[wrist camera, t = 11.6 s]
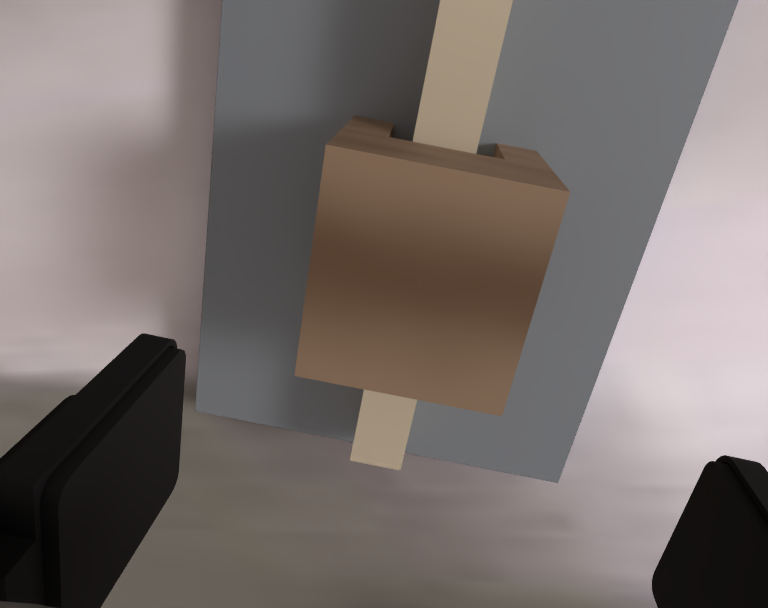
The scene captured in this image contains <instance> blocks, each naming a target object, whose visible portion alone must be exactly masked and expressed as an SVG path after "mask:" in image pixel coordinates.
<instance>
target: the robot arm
mask: <svg viewBox="0 0 768 608" xmlns="http://www.w3.org/2000/svg"><path fill="white" fill-rule="evenodd" d="M185 363H186V354H185V351H184V350H181V349H177V344H176V341H175V340H173V339H168V338H163V337H158V336H154V335H149V334H141V335H139V336H138V337H137V338H136V339H135V340H134V341H133V342H132V343H131V344H129V345H128V346H127V347H126V348H125V349H124V350H123V351H122V352H121V353H120V354H119V355H118V356H117V357H116V358H115V359H113V360H112V361H111V362H110V363H109V364H108V365H107V366H106V367H105V368H104V369H103V370H102V371H101V372H100V373H99V374H97V375H96V376H95V377H94V378H93V379H92V380H91V381H90V382H89V383H88V384H87V385H86V386H85V387H84V388H83V389H81V390H80V391H79V392H78V393H77V394H76V395H71V396H69V397H68V398H66V399H65V400H63V401H62V402H61V403H60V404H59V405H58V406H57V407H56V408H55V409H53V410H52V411H51V412H50V413H49V414H48V415H47V416H46V417H45V418H44V419H43V420H42V421H40V422H39V423H38V424H37V425H36V426H35V427H34V428H33V429H32V430H31V431H30V432H29V433H27V434H26V435H25V436H24V437H23V438H22V439H21V440H20V441H19V442H18V443H17V444H15V445H14V446H13V447H12V448H11V449H10V450H9V451H8V452H7V453H6V454H5V455H4V456H2V457H1V458H0V608H100V607H101V606H102V604H103V603H104V601H105V599H106V598H107V596H108V595H109V593H110V591H111V590H112V588H113V586H114V585H115V583H116V582H117V580H118V578H119V577H120V575H121V574H122V572H123V570H124V569H125V567H126V566H127V564H128V562H129V561H130V559H131V557H132V556H133V554H134V553H135V551H136V549H137V548H138V546H139V545H140V543H141V541H142V540H143V538H144V537H145V535H146V533H147V532H148V530H149V528H150V527H151V525H152V524H153V522H154V520H155V519H156V517H157V516H158V514H159V512H160V511H161V509H162V508H163V506H164V504H165V503H166V501H167V499H168V498H169V496H170V495H171V493H172V491H173V489H174V487H175V484H176V481H177V478H178V473H179V460H180V443H181V427H182V411H183V395H184V379H185ZM652 591H653V595H654V598H655V601H656V604H657V607H658V608H768V472H767V471H766V469H765V468H764V467H763V466H762V465H761V464H760V463H758V462H754V461H750V460H745V459H740V458H735V457H730V456H726V455H724V456H721V457H719V458H718V459H717V460H716V462H714V461H711V462H709V463H707V464H706V466H705V467H704V469H703V471H702V473H701V475H700V478H699V480H698V482H697V484H696V486H695V488H694V490H693V492H692V494H691V496H690V498H689V501H688V503H687V505H686V507H685V509H684V511H683V513H682V515H681V517H680V519H679V521H678V524H677V526H676V528H675V530H674V532H673V534H672V536H671V538H670V540H669V542H668V544H667V547H666V549H665V551H664V553H663V555H662V557H661V559H660V561H659V563H658V565H657V567H656V570H655V572H654V575H653V579H652Z"/></svg>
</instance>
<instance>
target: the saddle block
mask: <svg viewBox="0 0 768 608" xmlns="http://www.w3.org/2000/svg"><path fill="white" fill-rule="evenodd" d="M393 128H394V123H390V122H385V121H380V120H375V119H370V118H365V117H359V116H353V117H352V118H351V119H350V121H349V122H348V123H347V124H346V125H345V126H344V127H343V128H342V129H341V130H340V131H339V132H338V133H337V134H336V135H335V136H334V137H333V138H332V139H331V140H330V141H329V142H328V143H327V144H326V147H325V154H324V161H323V169H322V176H321V183H320V191H319V198H318V206H317V213H316V220H315V228H314V235H313V243H312V250H311V257H310V265H309V272H308V279H307V287H306V294H305V302H304V309H303V316H302V324H301V331H300V339H299V346H298V353H297V361H296V368H295V375H294V376H297V377H303V378H308V379H313V380H318V381H323V382H328V383H333V384H339V385H344V386H349V387H354V388H359V389H364V390H369V391H374V392H380V393H385V394H390V395H395V396H400V397H405V398H410V399H416V400H421V401H426V402H431V403H436V404H441V405H446V406H452V407H457V408H462V409H467V410H472V411H477V412H482V413H487V414H493V415H498V416H502V415H503V411H504V408H505V405H506V402H507V398H508V395H509V392H510V388H511V385H512V382H513V379H514V375H515V372H516V369H517V366H518V362H519V359H520V356H521V352H522V349H523V346H524V343H525V339H526V336H527V333H528V329H529V326H530V323H531V320H532V316H533V313H534V310H535V306H536V303H537V300H538V297H539V293H540V290H541V287H542V283H543V280H544V277H545V274H546V270H547V267H548V264H549V260H550V257H551V254H552V251H553V247H554V244H555V241H556V238H557V234H558V231H559V228H560V224H561V221H562V218H563V215H564V211H565V208H566V205H567V201H568V198H569V195H570V191H569V190H568V189H567V187H566V186H565V185H564V184H563V182H562V181H561V180H560V179H559V178H558V176H557V175H556V174H555V173H554V171H553V170H552V169H551V168H550V167H549V165H548V164H547V163H546V162H545V160H544V159H543V158H542V157H541V156H540V154H539V153H538V152H537V151H535V150H530V149H524V148H519V147H514V146H509V145H504V144H499V143H497V144H496V148H495V153H494V157H489V156H484V155H479V154H474V153H469V152H464V151H459V150H453V149H448V148H443V147H438V146H433V145H428V144H422V143H417V142H412V141H407V140H402V139H397V138H392V133H393Z"/></svg>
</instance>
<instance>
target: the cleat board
mask: <svg viewBox="0 0 768 608" xmlns="http://www.w3.org/2000/svg"><path fill="white" fill-rule="evenodd" d="M737 3H738V0H222V13H221V28H220V43H219V58H218V74H217V89H216V104H215V119H214V134H213V149H212V165H211V180H210V195H209V210H208V225H207V241H206V256H205V271H204V286H203V301H202V316H201V332H200V347H199V362H198V377H197V392H196V408H195V411H198V412H203V413H208V414H213V415H218V416H223V417H228V418H233V419H238V420H243V421H248V422H253V423H258V424H263V425H268V426H273V427H278V428H283V429H288V430H294V431H299V432H304V433H309V434H314V435H319V436H324V437H329V438H334V439H339V440H344V441H349V442H354V443H353V448H352V453H351V458H350V461H355V462H360V463H365V464H370V465H375V466H380V467H385V468H390V469H395V470H401V466H402V461H403V457H404V453H409V454H414V455H419V456H424V457H430V458H435V459H440V460H445V461H450V462H455V463H460V464H465V465H470V466H475V467H480V468H485V469H490V470H495V471H500V472H505V473H510V474H515V475H520V476H525V477H530V478H535V479H540V480H545V481H550V482H555V483H558V481H559V478H560V476H561V473H562V470H563V468H564V465H565V462H566V460H567V457H568V454H569V452H570V449H571V446H572V444H573V441H574V438H575V436H576V433H577V430H578V428H579V425H580V422H581V420H582V417H583V414H584V412H585V409H586V406H587V403H588V401H589V398H590V395H591V393H592V390H593V387H594V385H595V382H596V379H597V377H598V374H599V371H600V369H601V366H602V363H603V361H604V358H605V355H606V353H607V350H608V347H609V345H610V342H611V339H612V337H613V334H614V331H615V329H616V326H617V323H618V321H619V318H620V315H621V313H622V310H623V307H624V305H625V302H626V299H627V297H628V294H629V291H630V289H631V286H632V283H633V281H634V278H635V275H636V273H637V270H638V267H639V265H640V262H641V259H642V257H643V254H644V251H645V249H646V246H647V243H648V241H649V238H650V235H651V233H652V230H653V227H654V225H655V222H656V219H657V217H658V214H659V211H660V209H661V206H662V203H663V200H664V198H665V195H666V192H667V190H668V187H669V184H670V182H671V179H672V176H673V174H674V171H675V168H676V166H677V163H678V160H679V158H680V155H681V152H682V150H683V147H684V144H685V142H686V139H687V136H688V134H689V131H690V128H691V126H692V123H693V120H694V118H695V115H696V112H697V110H698V107H699V104H700V102H701V99H702V96H703V94H704V91H705V88H706V86H707V83H708V80H709V78H710V75H711V72H712V70H713V67H714V64H715V62H716V59H717V56H718V54H719V51H720V48H721V46H722V43H723V40H724V38H725V35H726V32H727V30H728V27H729V24H730V22H731V19H732V16H733V14H734V11H735V8H736V6H737ZM353 116H359V117H365V118H370V119H375V120H380V121H385V122H390V123H394V128H393V133H392V138H397V139H402V140H407V141H412V142H417V143H422V144H428V145H433V146H438V147H443V148H448V149H453V150H459V151H464V152H469V153H474V154H479V155H484V156H489V157H494V153H495V148H496V144H497V143H499V144H504V145H509V146H514V147H519V148H524V149H530V150H535V151H537V152H538V153H539V154H540V156H541V157H542V158H543V159H544V160H545V162H546V163H547V164H548V165H549V167H550V168H551V169H552V170H553V171H554V173H555V174H556V175H557V176H558V178H559V179H560V180H561V181H562V182H563V184H564V185H565V186H566V187H567V189H568V190H569V191H570V195H569V198H568V201H567V205H566V208H565V211H564V215H563V218H562V221H561V224H560V228H559V231H558V234H557V238H556V241H555V244H554V247H553V251H552V254H551V257H550V260H549V264H548V267H547V270H546V274H545V277H544V280H543V283H542V287H541V290H540V293H539V297H538V300H537V303H536V306H535V310H534V313H533V316H532V320H531V323H530V326H529V329H528V333H527V336H526V339H525V343H524V346H523V349H522V352H521V356H520V359H519V362H518V366H517V369H516V372H515V375H514V379H513V382H512V385H511V388H510V392H509V395H508V398H507V402H506V405H505V408H504V411H503V415H502V416H498V415H493V414H487V413H482V412H477V411H472V410H467V409H462V408H457V407H452V406H446V405H441V404H436V403H431V402H426V401H421V400H416V399H410V398H405V397H400V396H395V395H390V394H385V393H380V392H374V391H369V390H364V389H359V388H354V387H349V386H344V385H339V384H333V383H328V382H323V381H318V380H313V379H308V378H303V377H297V376H294V375H295V368H296V361H297V353H298V346H299V339H300V331H301V324H302V316H303V309H304V302H305V294H306V287H307V279H308V272H309V265H310V257H311V250H312V243H313V235H314V228H315V220H316V213H317V206H318V198H319V191H320V183H321V176H322V169H323V161H324V154H325V147H326V144H327V143H328V142H329V141H330V140H331V139H332V138H333V137H334V136H335V135H336V134H337V133H338V132H339V131H340V130H341V129H342V128H343V127H344V126H345V125H346V124H347V123H348V122H349V121H350V119H351V118H352V117H353Z"/></svg>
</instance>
